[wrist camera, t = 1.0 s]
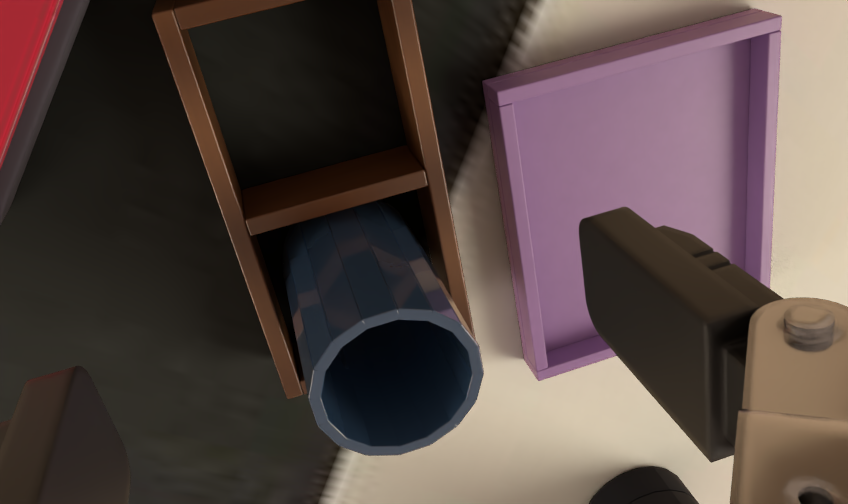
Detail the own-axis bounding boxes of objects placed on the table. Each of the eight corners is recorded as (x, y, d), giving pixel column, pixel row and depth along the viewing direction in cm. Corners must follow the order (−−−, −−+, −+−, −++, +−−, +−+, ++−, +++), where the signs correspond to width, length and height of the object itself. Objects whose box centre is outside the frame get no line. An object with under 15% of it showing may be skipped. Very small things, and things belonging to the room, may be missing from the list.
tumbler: (265, 214, 31) (288, 341, 23) (398, 177, 31) (468, 287, 23) (301, 326, 33) (334, 477, 25) (423, 290, 34) (493, 424, 26)
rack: (155, -1, 26) (150, 14, 24) (384, -56, 27) (403, -47, 25) (280, 359, 34) (287, 400, 31) (455, 305, 35) (476, 340, 32)
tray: (481, 80, 31) (496, 92, 29) (754, 7, 32) (782, 15, 31) (524, 360, 37) (538, 381, 36) (747, 288, 39) (769, 306, 38)
